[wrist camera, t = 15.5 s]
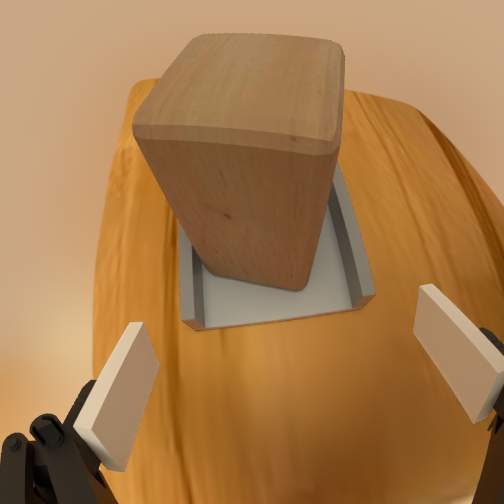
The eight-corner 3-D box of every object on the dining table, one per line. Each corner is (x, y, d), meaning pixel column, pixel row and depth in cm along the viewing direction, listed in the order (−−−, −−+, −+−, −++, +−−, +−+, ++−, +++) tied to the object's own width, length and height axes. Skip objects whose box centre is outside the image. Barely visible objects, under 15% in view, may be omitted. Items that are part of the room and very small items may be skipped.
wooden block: (205, 275, 31) (118, 124, 13) (230, 192, 35) (193, 29, 17) (305, 295, 29) (342, 143, 11) (320, 207, 33) (346, 37, 15)
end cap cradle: (327, 175, 36) (332, 146, 31) (361, 308, 29) (375, 294, 25) (191, 192, 36) (180, 166, 32) (195, 330, 30) (180, 320, 25)
